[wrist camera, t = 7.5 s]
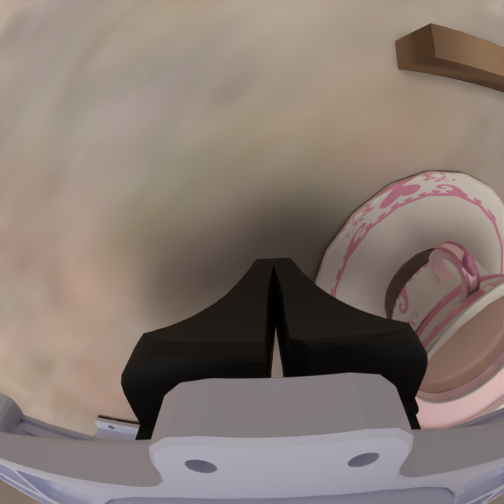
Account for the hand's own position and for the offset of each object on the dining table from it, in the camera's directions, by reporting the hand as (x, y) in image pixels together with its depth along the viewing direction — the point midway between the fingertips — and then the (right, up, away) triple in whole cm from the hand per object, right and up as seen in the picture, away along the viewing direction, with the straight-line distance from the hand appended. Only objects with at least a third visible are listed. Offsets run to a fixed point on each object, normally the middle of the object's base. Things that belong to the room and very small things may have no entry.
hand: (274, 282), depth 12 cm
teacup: (+8, -1, +2) cm, 8 cm away
